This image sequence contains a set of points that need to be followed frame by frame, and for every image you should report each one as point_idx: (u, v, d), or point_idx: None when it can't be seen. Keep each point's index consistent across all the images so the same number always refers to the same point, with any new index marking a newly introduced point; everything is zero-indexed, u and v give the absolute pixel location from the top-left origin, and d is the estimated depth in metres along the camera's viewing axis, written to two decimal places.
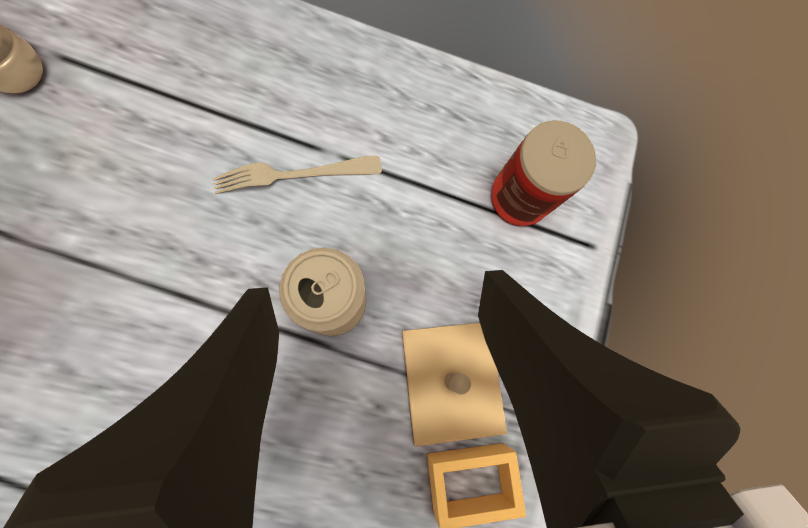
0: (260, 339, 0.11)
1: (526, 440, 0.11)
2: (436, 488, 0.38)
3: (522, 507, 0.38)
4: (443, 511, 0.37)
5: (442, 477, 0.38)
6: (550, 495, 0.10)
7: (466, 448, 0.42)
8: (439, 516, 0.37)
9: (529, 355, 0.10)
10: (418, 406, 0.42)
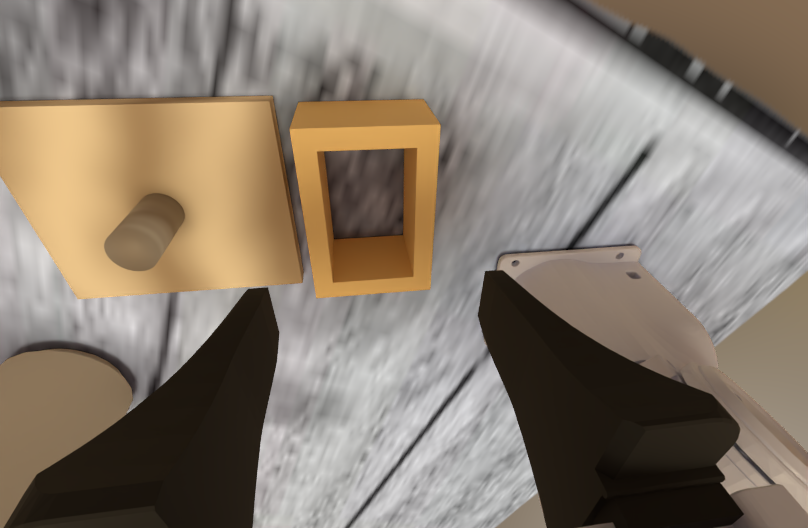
0: (260, 339, 0.11)
1: (526, 440, 0.11)
2: (360, 292, 0.20)
3: (419, 130, 0.15)
4: (400, 284, 0.20)
5: (341, 284, 0.19)
6: (550, 495, 0.10)
7: None
8: (408, 288, 0.20)
9: (529, 355, 0.10)
10: (229, 277, 0.22)
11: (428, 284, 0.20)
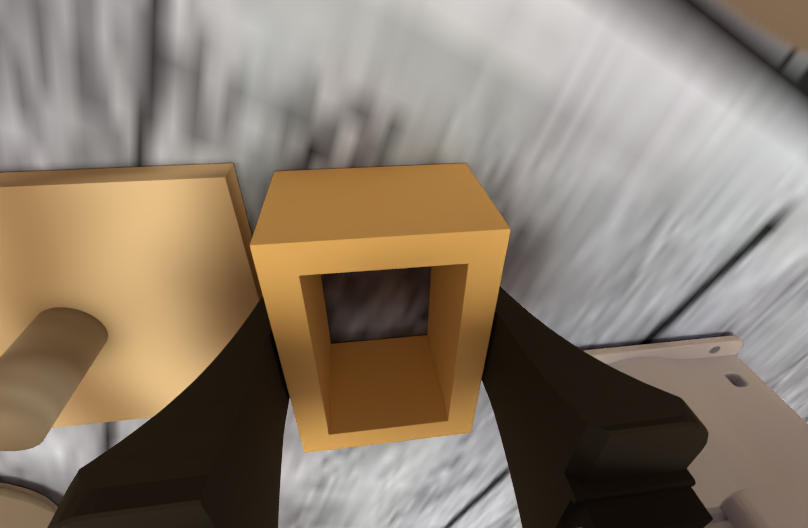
0: None
1: (504, 443, 0.11)
2: (369, 442, 0.14)
3: (474, 238, 0.09)
4: (428, 430, 0.14)
5: (341, 435, 0.13)
6: (525, 499, 0.10)
7: None
8: None
9: (506, 357, 0.10)
10: None
11: (469, 427, 0.14)
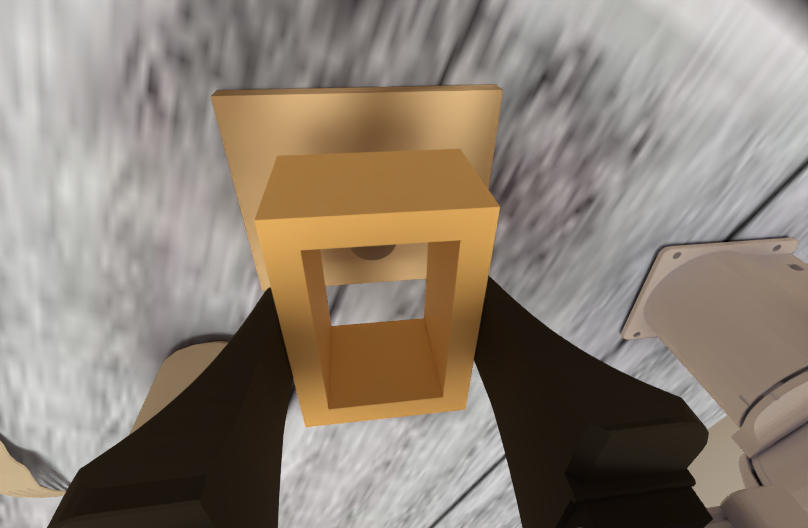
0: (282, 337, 0.11)
1: (504, 443, 0.11)
2: (368, 417, 0.14)
3: (465, 216, 0.10)
4: (424, 406, 0.14)
5: (341, 410, 0.14)
6: (525, 499, 0.10)
7: None
8: None
9: (506, 357, 0.10)
10: (410, 268, 0.22)
11: (463, 404, 0.14)
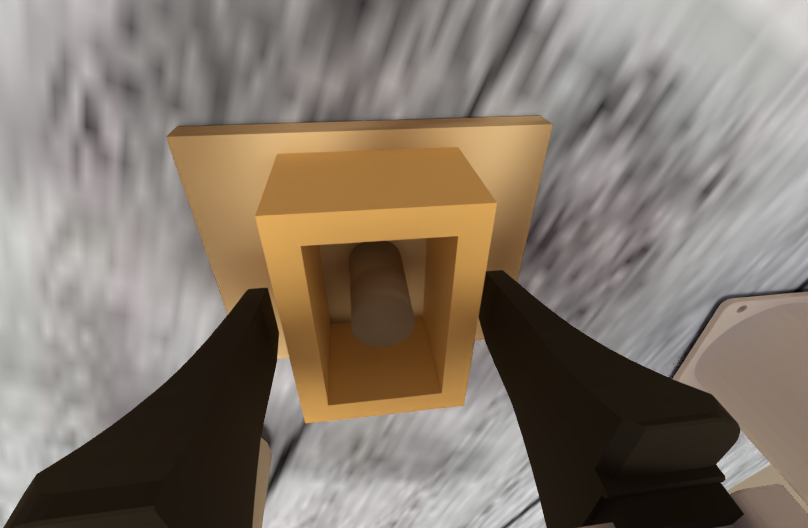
0: (260, 339, 0.11)
1: (526, 440, 0.11)
2: (367, 413, 0.14)
3: (463, 212, 0.10)
4: (423, 402, 0.14)
5: (340, 406, 0.14)
6: (550, 495, 0.10)
7: None
8: None
9: (529, 355, 0.10)
10: None
11: (461, 400, 0.14)
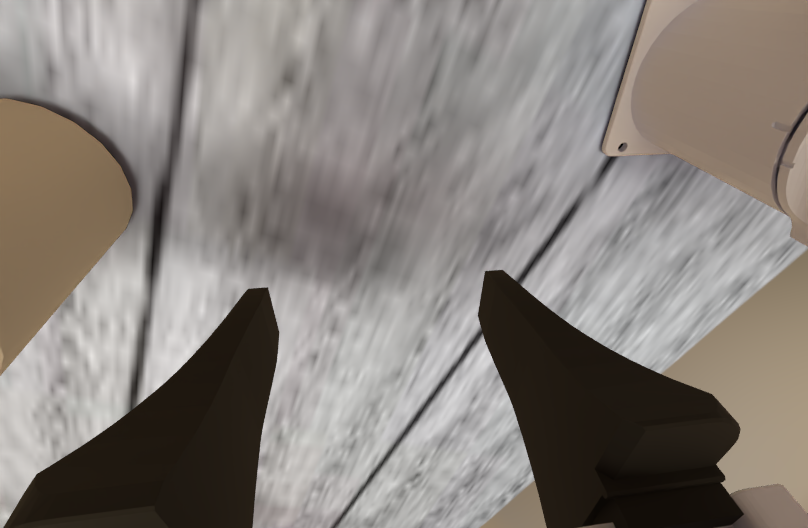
0: (260, 339, 0.11)
1: (526, 440, 0.11)
2: None
3: None
4: None
5: None
6: (550, 495, 0.10)
7: None
8: None
9: (529, 355, 0.10)
10: None
11: None
